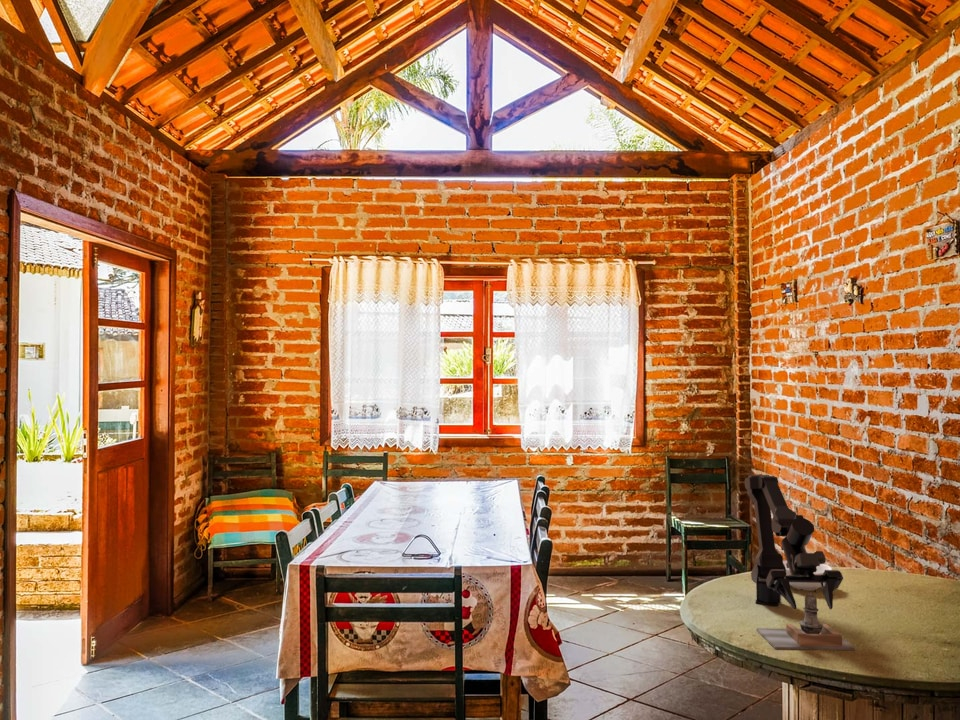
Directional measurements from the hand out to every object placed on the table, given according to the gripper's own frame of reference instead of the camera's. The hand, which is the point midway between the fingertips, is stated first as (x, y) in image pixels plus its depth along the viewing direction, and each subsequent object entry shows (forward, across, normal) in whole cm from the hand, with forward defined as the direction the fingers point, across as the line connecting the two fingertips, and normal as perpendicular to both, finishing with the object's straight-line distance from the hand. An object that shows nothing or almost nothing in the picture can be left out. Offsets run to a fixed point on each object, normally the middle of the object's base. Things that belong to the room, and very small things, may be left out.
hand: (813, 608), depth 192 cm
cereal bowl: (-31, +18, +44) cm, 56 cm away
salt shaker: (+5, 0, +7) cm, 8 cm away
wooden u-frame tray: (+5, -2, +7) cm, 9 cm away
